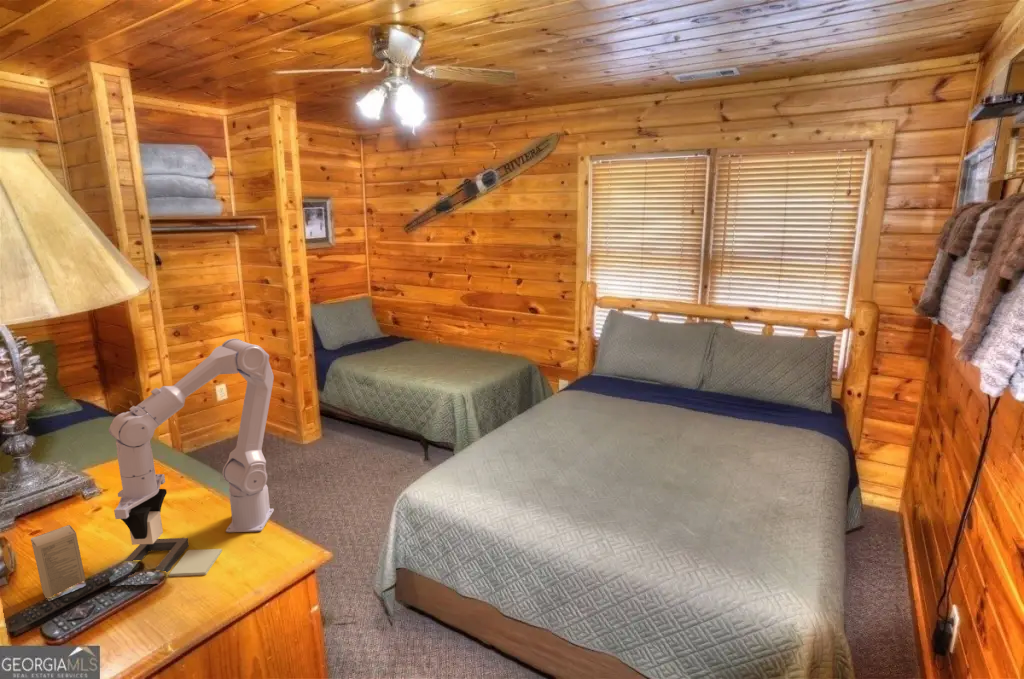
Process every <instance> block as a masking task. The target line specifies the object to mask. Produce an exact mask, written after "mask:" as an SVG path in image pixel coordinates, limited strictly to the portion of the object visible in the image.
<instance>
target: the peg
mask: <svg viewBox="0 0 1024 679" xmlns="http://www.w3.org/2000/svg"><path fill="white" fill-rule="evenodd" d="M163 530H164V529H163V523H162V517H161V512H160V511H154V512H149V514H148V520H147V537H146V538H145V539H134V537H133V535H132V533H131V531H130V530H129V534H130V539H131V540H130V541H131V545H140V544H153V543H154V542H155V541H156V540H157V539H160V537H161V535H162V534H163V533H164V531H163Z"/></svg>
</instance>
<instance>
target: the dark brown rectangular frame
mask: <svg viewBox="0 0 1024 679" xmlns="http://www.w3.org/2000/svg"><path fill="white" fill-rule="evenodd" d="M189 544H190V543H189V538H188V537H177V538H176V537H172V538H158V539H157V540H156V541H155V542H154V543H153V544H138V546H137V547H136V548H135V549H134V550H132V552H131V553H130V554H129V555H128V556H127V557H126V558H125V559H124V561H133V560H141V561H142V560H143V559H144V558H145V557H146V556H147V554H148V553H150V552H162V551H163V552H167V551H168V553H167V554H166V555H165V556H164V557H163V559H162V560H161V561H160V562H159V564H157V566H156V567H155V568H154V569H156V570H161V571H166V572H168V571H170V570H171V569H173V567H174V566H175V564H177V562H178V560H180V559H181V556H182V555H183V554H185V553H184V552H185V551H187V550H188V548H189V547H190V546H189ZM145 555H146V556H145ZM144 556H145V557H144ZM134 572H135V573H134V574H132V575H129V576H128V578H130V577H134V576H135V575H137V574H139V573H141V572H142V571H134ZM168 573H169V572H168Z"/></svg>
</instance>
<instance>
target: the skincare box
mask: <svg viewBox="0 0 1024 679" xmlns="http://www.w3.org/2000/svg"><path fill="white" fill-rule="evenodd" d="M30 541H31V546H32V550H33V554H34V559H35V563H36V567H37V572H38V577H39V581H40V584H41V585H40V586H41V591H42V593H43V595H44V598H45V599H46V598H48V597H51V596H53V595H54V594H57V593H59V592H61V591H63V590H65V589H67V588H69V587H71V586H73V585H75V584H77V583H80V582H82V581H85V580H86V575H85V571H84V570H85V569H84V566H83V562H82V556H81V551H80V545H79V542H78V537H77V532H76V531H75V529H74V528H73V527H72V526H71V525H70V524H67V525H65V526H62V527H59V528H57V529H54V530H51V531H48V532H45V533H41V534H40V535H37V536H33V537H31V538H30Z"/></svg>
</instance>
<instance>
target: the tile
mask: <svg viewBox="0 0 1024 679" xmlns="http://www.w3.org/2000/svg"><path fill="white" fill-rule="evenodd" d="M222 552H223V548H211V549H209V548H208V549H207V548H206V549H187V550H186V552H185V553H183V554H184V555H183V556H182V557H180V559H179V561H177V562H176V565H174V566H173V567H172V570H171V571H170V572H169V573H168V575H169V577H185V576H186V577H187V576H190V577H191V576H205V575H207V574H208V572H209V571H210V569H211V568H212V566H213V565H214V563H215V562H216V561H217V559H218V558H219V557H220V555H221V553H222Z"/></svg>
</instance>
